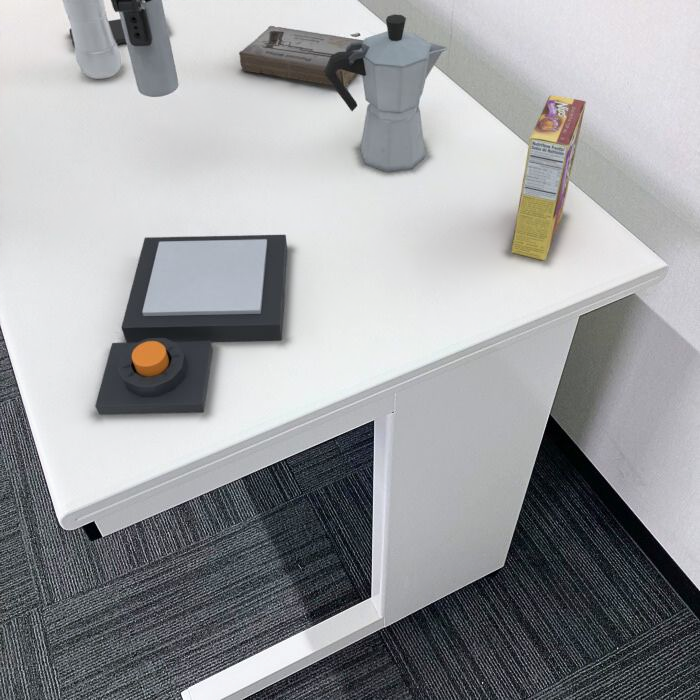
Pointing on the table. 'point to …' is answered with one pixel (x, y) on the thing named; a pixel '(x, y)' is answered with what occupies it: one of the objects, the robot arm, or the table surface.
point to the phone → (116, 31)
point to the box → (295, 54)
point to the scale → (208, 289)
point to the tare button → (150, 358)
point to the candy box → (547, 176)
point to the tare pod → (156, 380)
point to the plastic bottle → (93, 38)
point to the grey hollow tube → (153, 55)
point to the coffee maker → (389, 92)
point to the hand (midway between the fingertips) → (145, 31)
